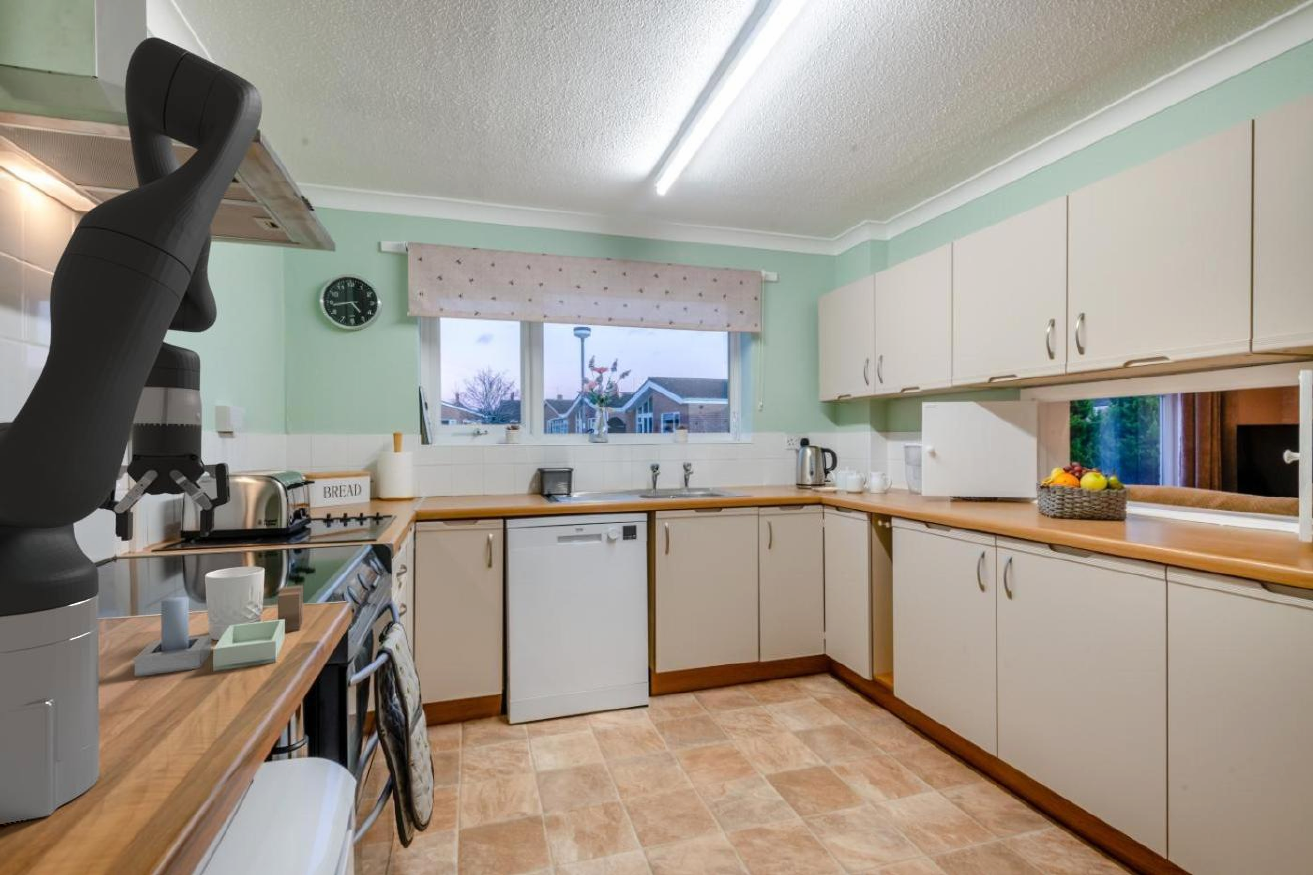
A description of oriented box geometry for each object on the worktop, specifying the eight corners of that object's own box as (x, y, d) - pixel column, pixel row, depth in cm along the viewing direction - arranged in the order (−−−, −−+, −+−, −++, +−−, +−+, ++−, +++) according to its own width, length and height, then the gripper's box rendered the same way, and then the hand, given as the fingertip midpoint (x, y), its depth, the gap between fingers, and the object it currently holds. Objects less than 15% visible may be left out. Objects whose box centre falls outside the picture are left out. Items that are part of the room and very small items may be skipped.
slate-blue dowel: (185, 665, 83) (185, 600, 83) (158, 669, 82) (158, 603, 82) (191, 658, 86) (191, 595, 86) (164, 661, 85) (164, 598, 85)
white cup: (226, 644, 92) (225, 579, 92) (193, 638, 95) (193, 574, 95) (275, 629, 99) (275, 568, 99) (244, 623, 102) (244, 564, 102)
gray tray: (199, 668, 82) (199, 649, 82) (134, 677, 79) (134, 658, 79) (211, 651, 89) (211, 634, 89) (151, 659, 86) (151, 641, 86)
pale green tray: (275, 662, 85) (275, 641, 85) (213, 671, 81) (213, 649, 81) (284, 638, 95) (284, 619, 95) (229, 645, 91) (229, 625, 91)
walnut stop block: (299, 630, 98) (299, 593, 98) (277, 632, 97) (277, 595, 97) (302, 620, 104) (302, 585, 104) (282, 622, 102) (282, 587, 102)
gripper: (234, 423, 90) (232, 531, 90) (110, 421, 84) (108, 537, 84) (225, 422, 84) (223, 538, 84) (90, 419, 77) (88, 545, 77)
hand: (166, 538), depth 84 cm, fingers open, 8 cm apart
